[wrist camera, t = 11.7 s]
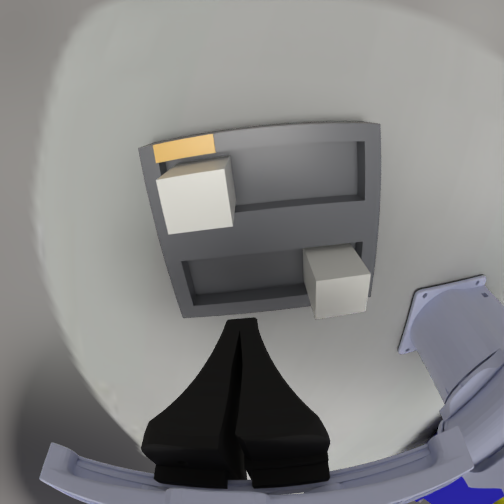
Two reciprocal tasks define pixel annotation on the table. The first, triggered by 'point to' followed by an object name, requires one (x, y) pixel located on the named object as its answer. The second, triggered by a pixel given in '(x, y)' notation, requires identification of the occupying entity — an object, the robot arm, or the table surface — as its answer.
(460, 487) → the blue valve with handwheel
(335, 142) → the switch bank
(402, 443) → the table surface
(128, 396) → the table surface
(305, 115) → the table surface
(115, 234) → the table surface
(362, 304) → the white block
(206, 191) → the white rectangular block
